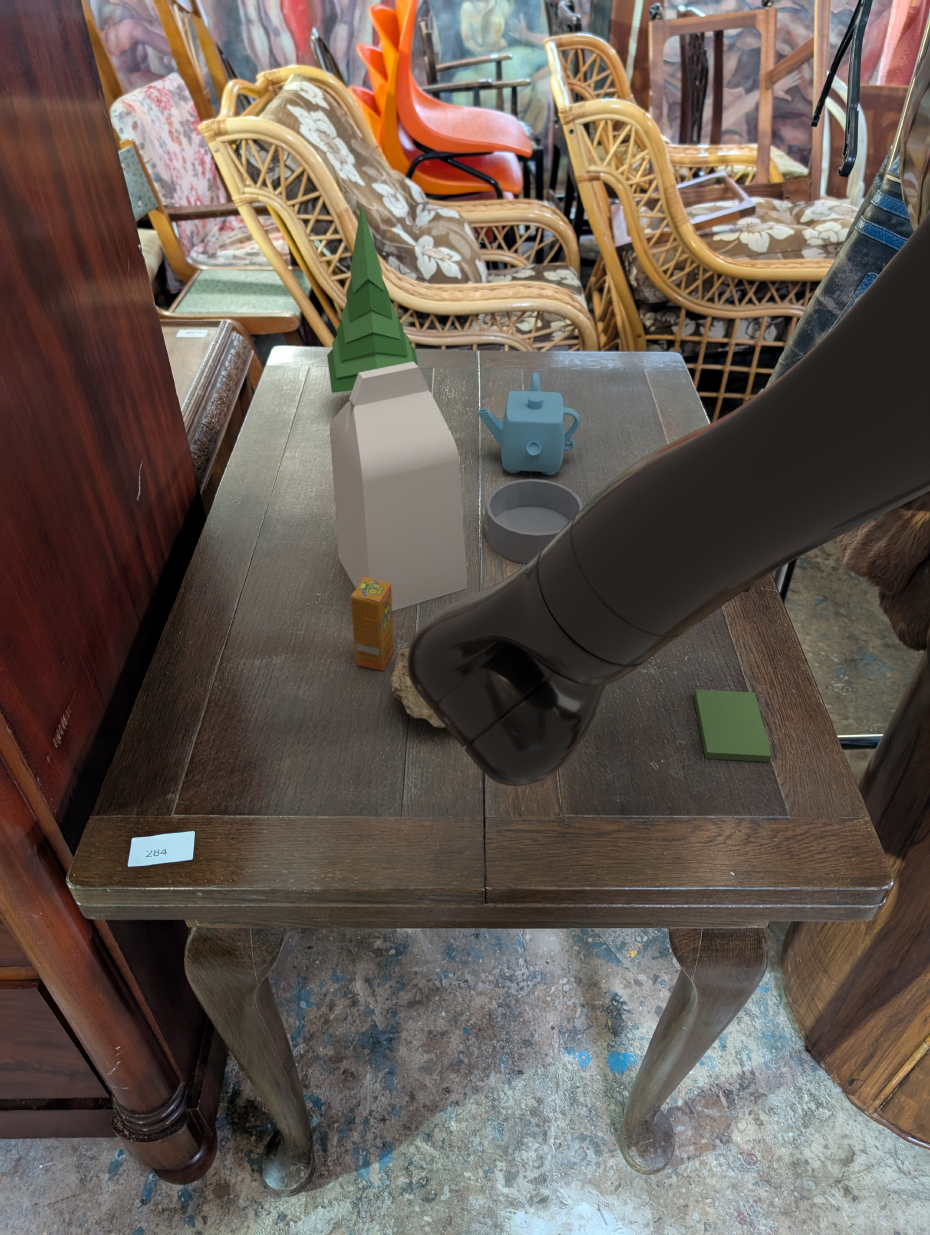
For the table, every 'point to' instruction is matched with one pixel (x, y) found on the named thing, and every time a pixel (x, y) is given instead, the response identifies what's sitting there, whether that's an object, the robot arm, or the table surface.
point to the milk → (398, 488)
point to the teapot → (532, 430)
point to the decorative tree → (366, 320)
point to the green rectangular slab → (731, 726)
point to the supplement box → (372, 623)
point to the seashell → (410, 692)
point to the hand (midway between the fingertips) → (722, 506)
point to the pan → (527, 516)
